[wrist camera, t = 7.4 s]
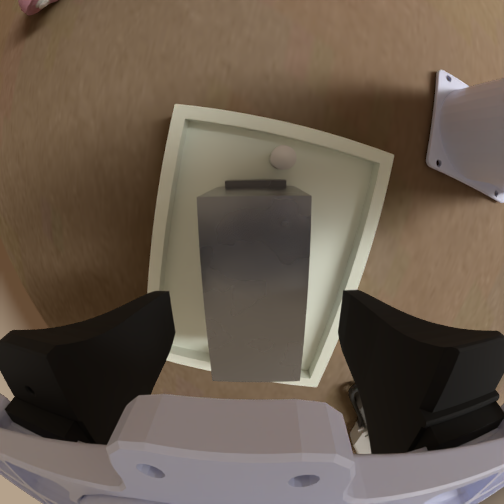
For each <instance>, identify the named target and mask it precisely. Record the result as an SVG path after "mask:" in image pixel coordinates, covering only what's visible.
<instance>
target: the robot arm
mask: <svg viewBox="0 0 504 504" xmlns="http://www.w3.org/2000/svg"><path fill="white" fill-rule="evenodd" d="M446 77H447V78H448V80H449V81H448V80H447V79H446ZM437 160H438V162H439V165H438V166H437V164H436V161H437ZM426 163H427V165H428V166H429V167H431V168H433V169H435V170H437V171H439V172H442V173H444V174H446V175H448V176H450V177H452V178H454V179H456V180H458V181H460V182H462V183H464V184H466V185H468V186H470V187H472V188H474V189H476V190H478V191H480V192H482V193H483V194H485V195H487V196H489V197H491V198H492V199H494V200H496V201H497V202H500V203H503V202H504V78H501V79H497V80H492V81H488V82H485V83H481V84H477V85H473V86H470V87H469V86H468V85H466V84H465V83H463V82H462V81H460V80H459V79H457V78H455V77H454V76H452V75H451V74H449V73H447V72H446V71H444V70H439V71H437V73H436V87H435V99H434V108H433V117H432V124H431V132H430V138H429V144H428V150H427V156H426ZM175 333H176V332H175V326H174V320H173V313H172V307H171V300H170V293H169V291H153V292H150V293H148V294H146V295H143V296H141V297H139V298H137V299H135V300H133V301H131V302H129V303H127V304H125V305H123V306H121V307H119V308H116V309H114V310H112V311H110V312H107V313H105V314H103V315H100V316H97V317H95V318H92V319H89V320H86V321H82V322H78V323H74V324H70V325H66V326H61V327H55V328H47V329H38V330H12V331H10V332H9V333H8V334H7V335H6V336H4V337H3V338H2V339H1V340H0V371H1V373H2V375H3V376H4V379H5V380H6V382H7V384H8V386H9V388H10V389H11V391H12V393H13V395H14V396H15V397H14V398H13V400H12V401H11V402H10V401H9V400H8V399H7V398H6V397H5V396H4V395H2V394H0V474H1V475H2V476H3V477H5V478H6V479H7V480H9V481H10V482H12V483H13V484H14V485H16V486H17V487H19V488H20V489H21V490H23V491H24V492H26V493H27V494H29V495H30V496H32V497H33V498H35V499H37V500H38V501H40V502H41V503H43V504H478V503H479V502H481V501H483V500H484V499H486V498H487V497H489V496H490V495H492V494H493V493H495V492H497V491H498V490H499V489H501V488H502V487H504V404H503V405H502V406H501V407H500V406H499V405H498V403H497V402H496V401H497V400H498V399H499V394H498V393H497V391H496V390H495V389H496V387H497V385H498V383H499V381H500V379H501V377H502V375H503V373H504V335H503V334H501V333H500V332H499V331H481V330H467V329H459V328H453V327H448V326H444V325H439V324H435V323H432V322H428V321H425V320H422V319H419V318H416V317H414V316H411V315H409V314H406V313H404V312H402V311H400V310H398V309H395V308H393V307H391V306H389V305H387V304H385V303H384V302H382V301H380V300H378V299H376V298H374V297H372V296H370V295H368V294H366V293H364V292H362V291H359V290H343V296H342V304H341V312H340V320H339V327H338V336H339V340H340V344H341V348H342V352H343V354H344V357H345V359H346V362H347V364H348V367H349V369H350V371H351V374H352V376H353V379H354V381H355V384H356V386H357V389H358V392H359V395H360V398H361V402H362V406H363V410H364V414H365V419H366V424H367V429H368V435H369V441H370V448H371V454H353V452H352V448H351V444H350V440H349V437H348V433H347V429H346V425H345V422H344V418H343V414H342V413H340V412H339V411H337V410H336V409H334V408H333V407H331V406H330V405H328V404H327V403H325V402H317V401H308V400H300V399H275V400H245V399H218V398H202V397H190V396H180V395H170V394H154V395H151V392H152V390H153V387H154V385H155V383H156V381H157V379H158V377H159V374H160V372H161V370H162V368H163V366H164V364H165V362H166V359H167V357H168V355H169V353H170V350H171V347H172V344H173V340H174V337H175Z"/></svg>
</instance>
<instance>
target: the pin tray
mask: <svg viewBox="0 0 504 504" xmlns="http://www.w3.org/2000/svg"><path fill="white" fill-rule="evenodd" d="M393 159H394V155H393V154H391V153H388V152H385V151H383V150H380V149H377V148H374V147H371V146H368V145H365V144H362V143H359V142H356V141H353V140H350V139H347V138H344V137H340V136H337V135H334V134H330V133H327V132H323V131H320V130H316V129H312V128H308V127H305V126H301V125H297V124H292V123H288V122H284V121H280V120H275V119H270V118H266V117H261V116H256V115H250V114H245V113H239V112H233V111H227V110H221V109H214V108H207V107H199V106H191V105H181V104H175V106H174V110H173V114H172V119H171V123H170V128H169V133H168V138H167V143H166V148H165V153H164V158H163V164H162V170H161V175H160V182H159V188H158V195H157V201H156V209H155V216H154V224H153V233H152V242H151V252H150V263H149V275H148V289H147V294H148V293H150V292H153V291H169V293H170V300H171V307H172V313H173V320H174V326H175V332H176V333H175V337H174V340H173V344H172V347H171V350H170V353H169V355H168V357H167V359H166V360H167V361H171V362H174V363H178V364H182V365H186V366H191V367H195V368H199V369H204V370H208V371H211V365H210V356H209V348H208V339H207V330H206V320H205V310H204V299H203V288H202V276H201V263H200V249H199V233H198V216H197V197H198V196H200V195H202V194H204V193H206V192H208V191H210V190H213V189H215V188H217V187H222V186H225V181H226V180H250V179H285V180H286V186H295V187H297V188H299V189H300V190H302V191H304V192H306V193H307V194H309V195H311V196H312V204H311V239H310V262H309V281H308V296H307V311H306V323H305V335H304V346H303V356H302V366H301V375H300V381H289V382H276V383H283V384H291V385H300V386H309V387H317V386H318V384H319V381H320V379H321V377H322V375H323V373H324V371H325V368H326V366H327V364H328V362H329V359H330V357H331V355H332V353H333V350H334V348H335V345H336V343H337V341H338V338H339V336H338V327H339V320H340V312H341V304H342V296H343V290H357V289H358V286H359V283H360V280H361V277H362V274H363V271H364V268H365V265H366V262H367V259H368V255H369V252H370V249H371V246H372V242H373V239H374V236H375V232H376V229H377V225H378V222H379V218H380V214H381V210H382V207H383V203H384V199H385V195H386V191H387V186H388V182H389V178H390V173H391V169H392V164H393Z"/></svg>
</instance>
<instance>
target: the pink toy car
mask: <svg viewBox="0 0 504 504" xmlns="http://www.w3.org/2000/svg"><path fill="white" fill-rule="evenodd" d="M18 1H19V6H20V8H21V10H22V11H23V12H24V13H25V14H27V15H33V14H35V13H38V12H39V11H40V10H42V9H43V8H44V7H46V6H47V5H48V4H50V3H53V2H56V1H58V0H18Z"/></svg>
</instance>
